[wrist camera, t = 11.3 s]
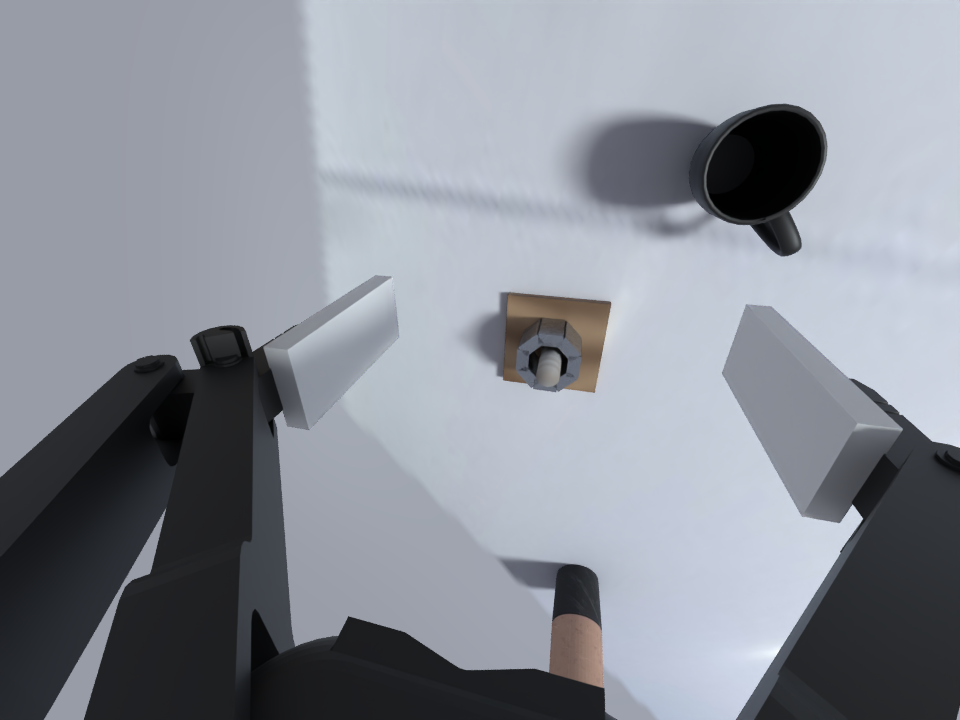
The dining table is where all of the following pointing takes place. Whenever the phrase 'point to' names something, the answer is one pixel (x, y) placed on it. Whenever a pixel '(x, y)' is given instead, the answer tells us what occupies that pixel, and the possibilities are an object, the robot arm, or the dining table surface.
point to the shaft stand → (588, 324)
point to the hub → (552, 336)
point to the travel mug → (577, 626)
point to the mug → (761, 170)
